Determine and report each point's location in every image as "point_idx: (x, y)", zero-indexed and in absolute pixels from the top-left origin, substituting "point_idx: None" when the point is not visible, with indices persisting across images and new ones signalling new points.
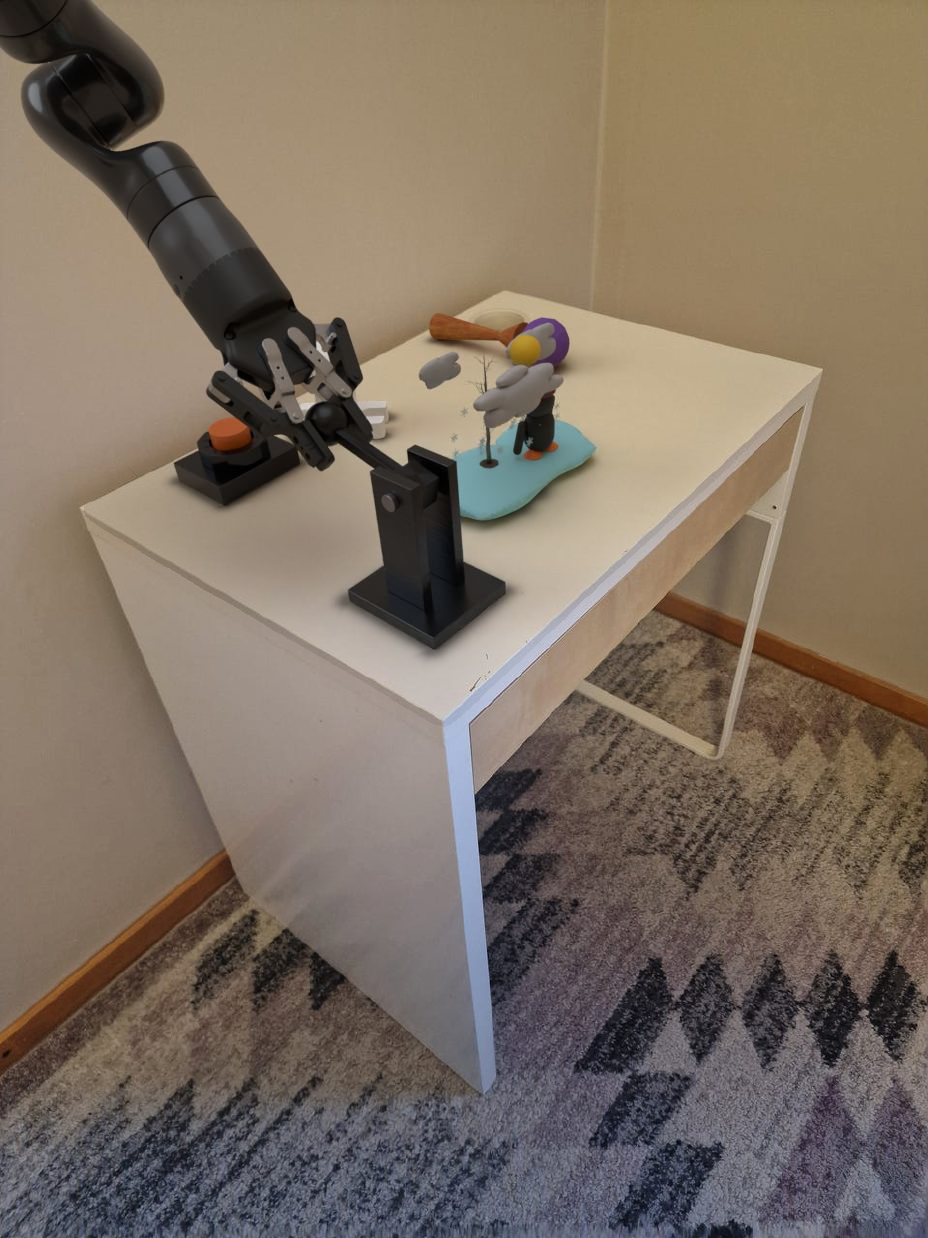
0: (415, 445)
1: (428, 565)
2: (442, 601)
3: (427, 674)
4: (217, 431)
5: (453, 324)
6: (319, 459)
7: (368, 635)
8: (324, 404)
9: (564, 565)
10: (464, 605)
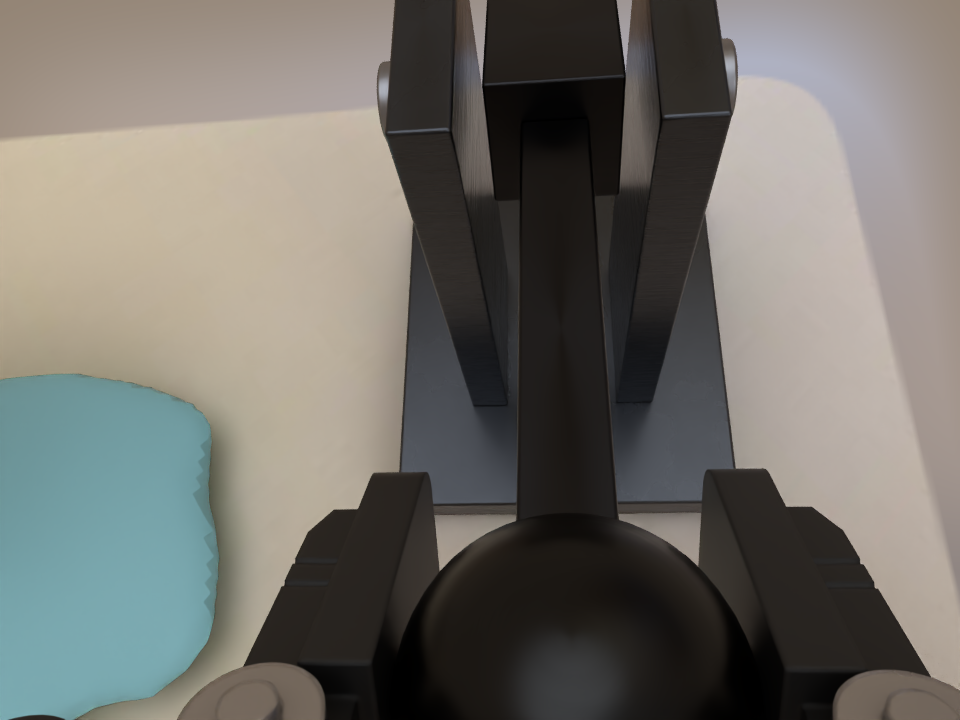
0: (395, 123)
1: None
2: None
3: (765, 165)
4: None
5: None
6: (805, 510)
7: (785, 359)
8: (572, 666)
9: (251, 186)
10: None
